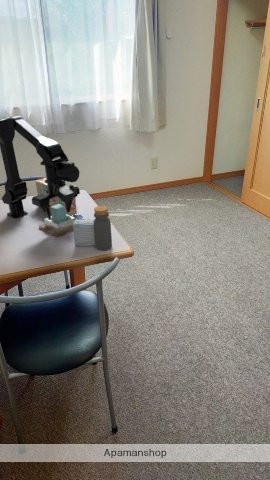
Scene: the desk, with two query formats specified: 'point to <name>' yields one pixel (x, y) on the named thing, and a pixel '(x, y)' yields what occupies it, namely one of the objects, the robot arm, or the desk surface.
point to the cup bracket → (60, 225)
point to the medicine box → (84, 233)
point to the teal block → (58, 213)
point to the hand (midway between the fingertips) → (59, 215)
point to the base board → (56, 231)
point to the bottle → (102, 229)
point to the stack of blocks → (42, 190)
